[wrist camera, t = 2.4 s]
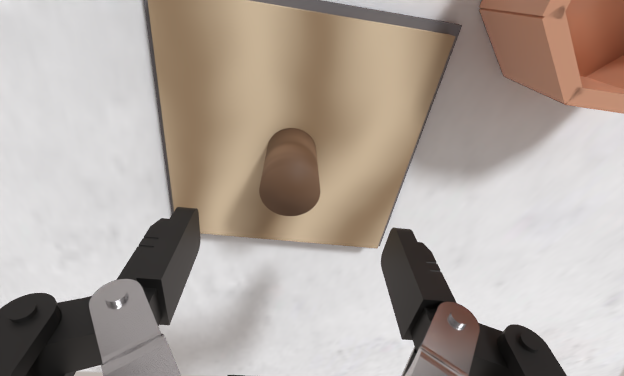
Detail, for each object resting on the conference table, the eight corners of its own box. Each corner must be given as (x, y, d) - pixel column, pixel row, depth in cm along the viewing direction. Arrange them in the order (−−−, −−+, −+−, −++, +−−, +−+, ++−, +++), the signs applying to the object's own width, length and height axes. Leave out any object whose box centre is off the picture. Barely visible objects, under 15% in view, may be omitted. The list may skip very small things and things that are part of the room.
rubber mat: (176, 224, 23) (173, 228, 23) (144, -31, 15) (139, -32, 14) (378, 241, 25) (379, 246, 25) (457, 24, 16) (461, 25, 16)
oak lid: (180, 224, 23) (151, 282, 18) (152, -17, 15) (88, -16, 10) (375, 241, 24) (391, 298, 20) (449, 34, 16) (504, 53, 12)
